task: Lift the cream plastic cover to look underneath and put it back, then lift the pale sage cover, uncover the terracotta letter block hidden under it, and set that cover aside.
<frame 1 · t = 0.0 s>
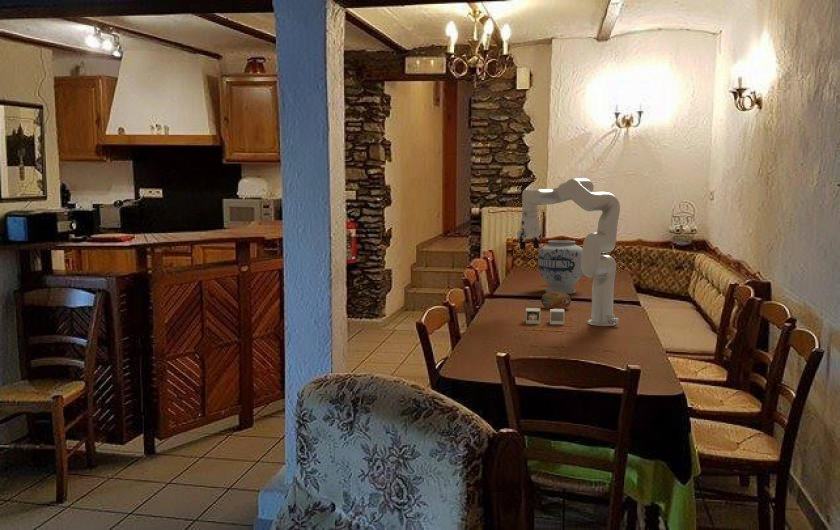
hand: (529, 248, 368), 31 cm above the table, tool pointing down, fingers open, 9 cm apart
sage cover: (532, 322, 342), on the table
apothecary jar: (561, 292, 431), on the table
letter block: (533, 318, 342), in the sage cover
cream cover: (557, 322, 340), on the table
tin: (556, 308, 377), on the table
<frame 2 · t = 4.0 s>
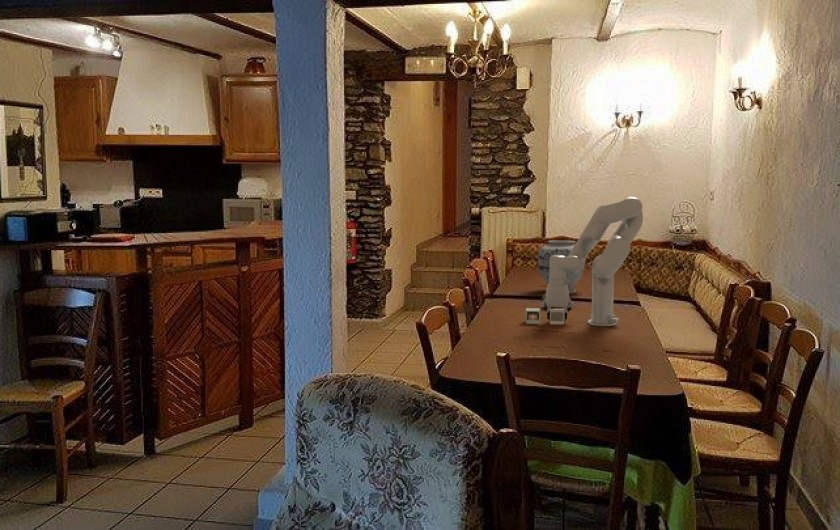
hand: (557, 320, 340), 1 cm above the table, tool pointing down, fingers closed on cream cover, 6 cm apart
cream cover: (556, 322, 340), on the table, touching gripper
everything else where it was.
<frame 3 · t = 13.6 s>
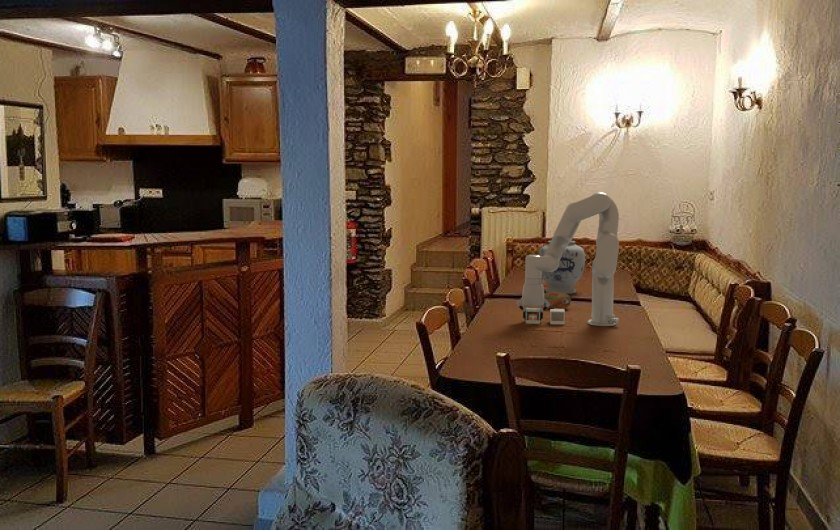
hand: (532, 319, 342), 1 cm above the table, tool pointing down, fingers closed on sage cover, 6 cm apart
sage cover: (532, 322, 342), on the table, touching gripper
cream cover: (557, 322, 340), on the table
everything else where it was.
when the fingers open (3 cm above the table, at t = 19.7 s): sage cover drops 1 cm, on the table.
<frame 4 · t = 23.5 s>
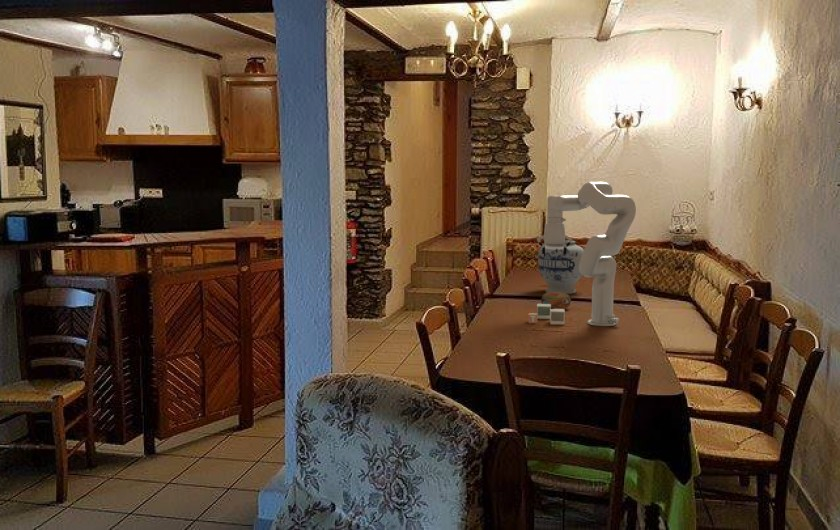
hand: (554, 255, 364), 28 cm above the table, tool pointing down, fingers open, 9 cm apart
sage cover: (543, 317, 353), on the table
everything else where it was.
at the end: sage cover inside the target area (0.0 cm from its centre), on the table; letter block moved 0.1 cm from its start; cream cover moved 0.1 cm from its start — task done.
